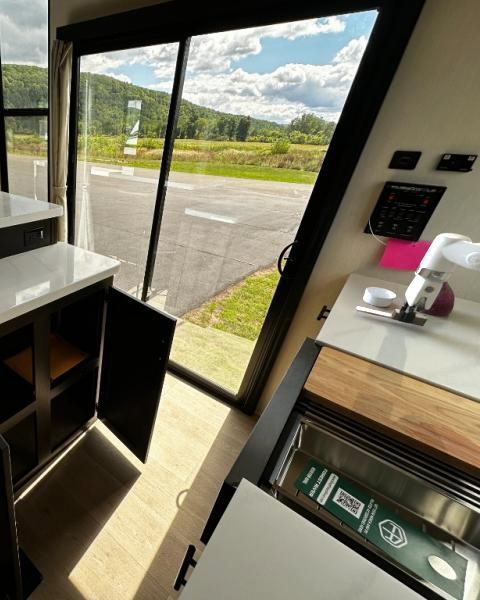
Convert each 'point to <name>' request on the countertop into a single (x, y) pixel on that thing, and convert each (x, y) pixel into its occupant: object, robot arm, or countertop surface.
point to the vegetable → (442, 302)
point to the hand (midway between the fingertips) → (403, 319)
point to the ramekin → (379, 296)
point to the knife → (394, 315)
